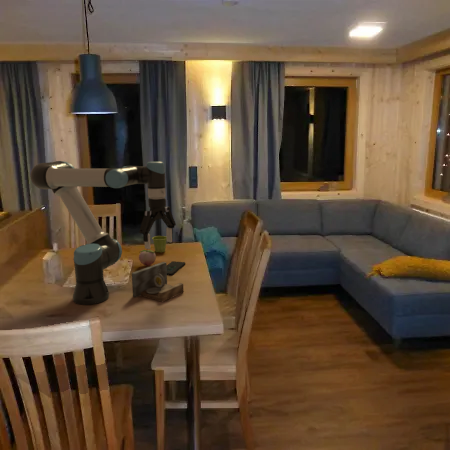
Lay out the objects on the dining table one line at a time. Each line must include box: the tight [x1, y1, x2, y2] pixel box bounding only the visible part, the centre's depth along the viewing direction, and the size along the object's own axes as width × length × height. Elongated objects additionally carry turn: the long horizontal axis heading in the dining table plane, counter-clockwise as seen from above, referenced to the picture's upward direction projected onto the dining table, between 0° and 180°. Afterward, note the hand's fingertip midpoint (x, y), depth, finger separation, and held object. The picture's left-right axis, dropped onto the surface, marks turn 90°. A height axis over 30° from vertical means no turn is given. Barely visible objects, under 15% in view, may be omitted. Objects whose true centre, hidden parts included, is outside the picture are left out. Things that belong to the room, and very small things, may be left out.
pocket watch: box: [146, 269, 165, 294], centre depth 186 cm, size 8×8×10 cm
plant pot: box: [151, 235, 167, 253], centre depth 256 cm, size 9×9×9 cm
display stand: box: [131, 261, 184, 303], centre depth 188 cm, size 20×15×11 cm
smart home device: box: [167, 260, 186, 277], centre depth 223 cm, size 8×2×20 cm
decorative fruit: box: [138, 249, 157, 267], centre depth 227 cm, size 9×8×10 cm
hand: (158, 245), depth 184 cm, fingers open, 13 cm apart
